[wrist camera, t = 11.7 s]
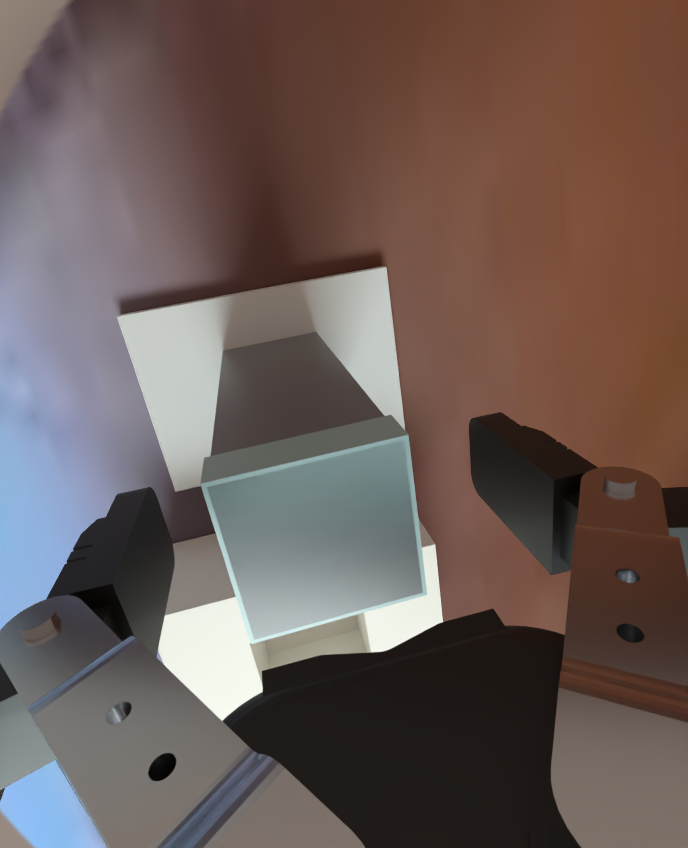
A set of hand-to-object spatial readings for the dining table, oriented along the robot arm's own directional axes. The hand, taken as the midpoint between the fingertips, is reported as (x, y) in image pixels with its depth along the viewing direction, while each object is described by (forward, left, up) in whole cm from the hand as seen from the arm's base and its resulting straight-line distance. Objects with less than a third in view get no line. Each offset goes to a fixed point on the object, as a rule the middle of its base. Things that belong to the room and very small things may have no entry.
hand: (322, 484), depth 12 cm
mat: (0, 0, -11) cm, 11 cm away
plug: (0, 0, -10) cm, 10 cm away
